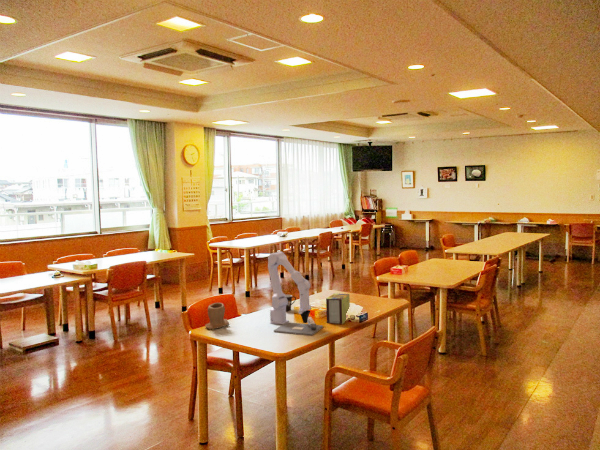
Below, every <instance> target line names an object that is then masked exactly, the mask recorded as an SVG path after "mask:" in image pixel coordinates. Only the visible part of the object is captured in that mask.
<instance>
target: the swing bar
mask: <svg viewBox="0 0 600 450" xmlns="http://www.w3.org/2000/svg"><path fill="white" fill-rule="evenodd" d="M306 324H309V326H310V328H311V330H316V325H317V323H315V321H314V319H313V318H312V316H308V321H307V323H306Z"/></svg>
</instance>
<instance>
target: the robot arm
mask: <svg viewBox="0 0 600 450" xmlns="http://www.w3.org/2000/svg"><path fill="white" fill-rule="evenodd" d="M279 265H281V266H283V267H284V268H285V270H287V272H288V273H289V274H290V278H291V279H292V280H293V281H294V283H295V284H296V285H297V289H298V293H299V309H298V315H300V316H301V320H302V324H308V323H307V321H308V317H310V316H309V315H310V314H311V310H312V306H311V304H310V289H311V285H312V284H311V282H310V281H309V280H308V279H306V278H305V277H303V274H302V273H301V272H300V270H299V271H298V270H296V269H295V268H294V267H293V265H292V264H291V263H290V261H289V260H288V257H287V255H286V254H285V253H284V252H283V251H277V252H272V253H270V254H269V255H268V257H267V270H268V274H269V279H270V282H271V288H272V291H273V294H272V297H271V307H272V308H270V312H269V313H270V314H269V317H270V318H269V319H270V320H269V323H270V324H276V325H283V324H285V323H286V322H288V323H289V319H287V311H286V305H287V304H288V300H287V298H286V296H285V295H286V294H285V293H284V292H283V290H282V289H283V288H282V284H281V279H280V276H279V272H278V267H279Z"/></svg>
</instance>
